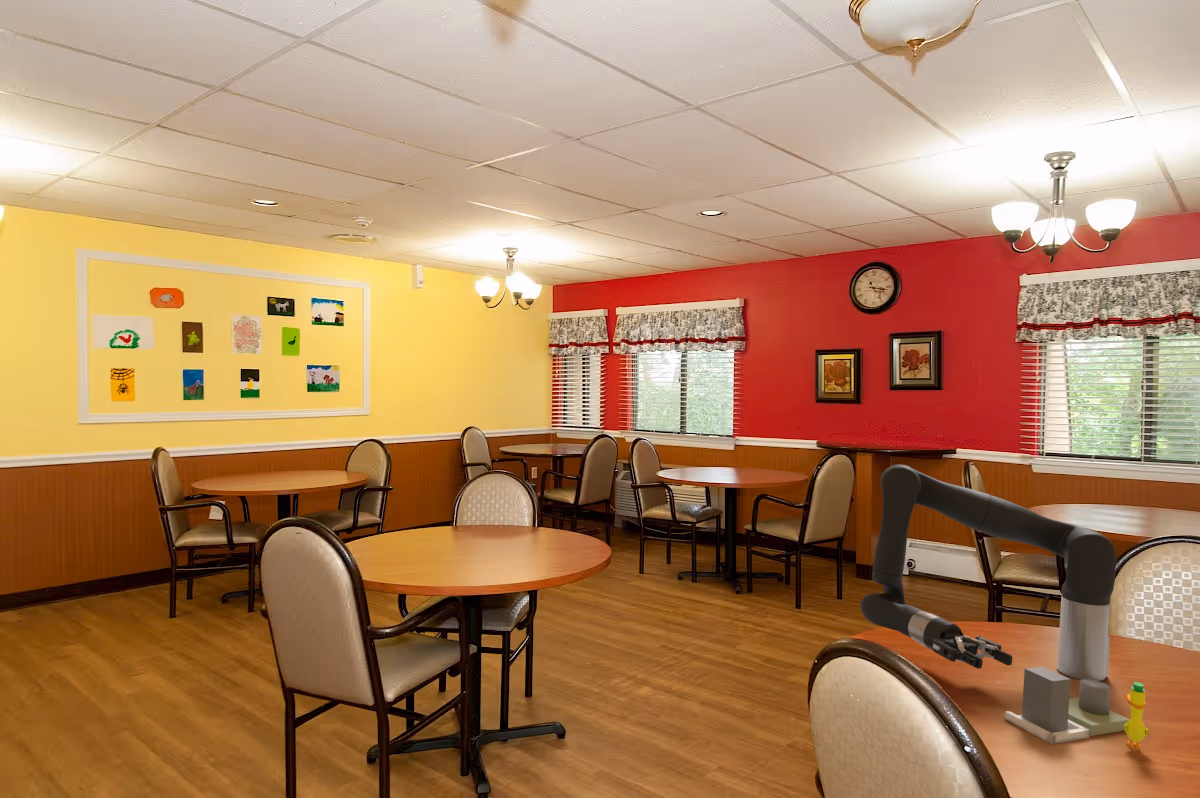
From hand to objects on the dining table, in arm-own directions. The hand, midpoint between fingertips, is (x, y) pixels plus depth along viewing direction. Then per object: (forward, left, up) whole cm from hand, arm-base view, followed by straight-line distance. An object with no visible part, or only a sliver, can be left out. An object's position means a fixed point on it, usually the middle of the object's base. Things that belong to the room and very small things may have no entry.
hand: (996, 662), depth 150 cm
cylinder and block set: (-5, +12, -8) cm, 15 cm away
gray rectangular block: (+1, +12, -7) cm, 14 cm away
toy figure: (-9, +22, -8) cm, 25 cm away
